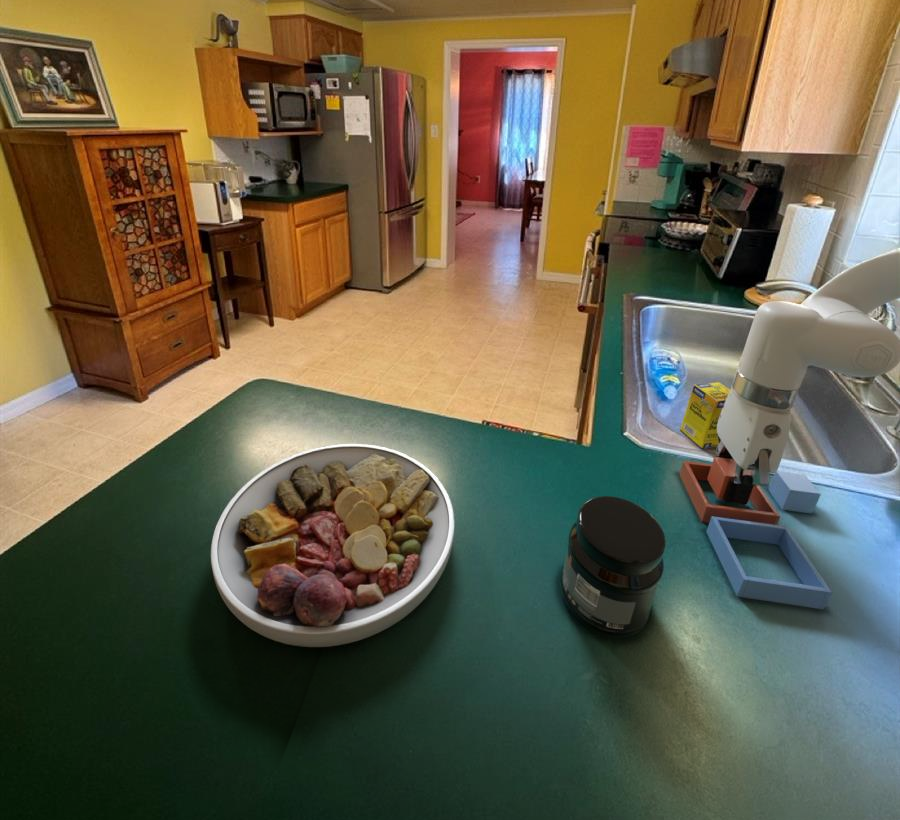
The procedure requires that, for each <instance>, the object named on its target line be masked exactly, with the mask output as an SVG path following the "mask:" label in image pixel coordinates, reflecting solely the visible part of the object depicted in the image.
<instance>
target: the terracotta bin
mask: <svg viewBox="0 0 900 820" xmlns="http://www.w3.org/2000/svg"><path fill="white" fill-rule="evenodd" d="M711 465H712V463H711V464H710V463H703V462H695V461H688V460H683V462H682V465H681V469H680V472H679V477H680V480H681V481H682V484H683V486H684V488H685V490H686V492H687V494H688V497H689V498H690V500H691V503H692V505H693V507H694V509H695V511H696V513H697V515H698V517H699V519H700V521H701V522H702V523H708V524H709V523H710V520H711V517H712V516H714V517H721V518H728V519H736V520H743V521H750V522H758V523H765V524H772V525H778V524H779V520H780V518H781V515H780V514H779V512H778V511H777V510H776V508H775V507H774V505H773V504H772V502H771V501H770V499H769V498H768V496H767V495H766V493H765V492H764V490H763V488H762V487H761V486H758V485H757V486H756V487H755V486H754V488H753V490H752V493H751V496H750V498H749V501H750V502H751V504H752V505H753V507H754V509H747V508H740V507H735V506H734V507H733V506H725V505H717V504H711V503H709V500H708V499H707V497H706V495H705V493H704V491H703V488H702V487H701V485H700V483H699V482H698V480H699V481H706V482H708V480H707V477H708V474H709V471H710V468H711Z"/></svg>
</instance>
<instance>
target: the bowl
mask: <svg viewBox="0 0 900 820" xmlns="http://www.w3.org/2000/svg"><path fill="white" fill-rule="evenodd" d="M454 536H455V514H454V508H453V503H452V501H451V498H450V496H449V493H448V491H447V489H446V488H445V486H444V485H443V483H442V482H441V481H440V479H439V478H438V477H437V476H436V475H435V474H434V472H433V471H432V470H431V469H429V468H428V467H427V466H425V465H424V464H423V463H422V462H420V461H418V460H417V459H415V458H414V457H412V456H409V455H408V454H405V453H403V452H400V451H398V450H395V449H392V448H388V447H384V446H380V445H373V444H366V443H365V444H364V443H340V444H331V445H330V444H329V445H326V446H325V445H324V446H318V447H314V448H310V449H308V450H304V451H301V452H298V453H295V454H292V455H290V456H288V457H286V458H283V459H282V460H279V461H277V462H275V463H274V464H271V465H270V466H268V467H267V468H265V469H263V470H262V471H261V472H259V473H258V474H256V475H255V476H254V477H252V478H251V479H250V480H249V481H248V482H246V483H245V484H244V485H242V487H241V488H240V489H239V490H238V491H237V492H236V493H235V494H234V495H233V497H232V498H231V499H230V501H229V502H228V503H227V505H226V506H225V508H224V510H223V511H222V513H221V515H220V517H219V519H218V521H217V523H216V526H215V528H214V531H213V535H212V540H211V546H210V564H211V569H212V570H211V571H212V575H213V579H214V583H215V586H216V588H217V591H218V593H219V595H220V598H221V600H222V601H223V602H224V604H225V605H226V607H227V608H228V609H229V611H230V612H231V613H232V614H233V616H235V617H236V618H237V619H238V620H239V621H240V622H241V623H242V624H243V625H244V626H246V627H247V628H249V629H250V630H252V631H254V632H255V633H257V634H259V635H261V636H263V637H264V638H267V639H270V640H272V641H274V642H278V643H282V644H284V645H291V646H295V647H296V646H297V647H303V648H305V647H306V648H327V647H328V648H329V647H335V646H341V645H347V644H351V643H354V642H358V641H361V640H364V639H368V638H369V637H372V636H374V635H376V634H379V633H381V632H383V631H384V630H387V629H389V628H390V627H392V626H394V625H395V624H397V623H398V622H400V621H401V620H403V619H404V618H405V617H407V616H408V615H409V614H411V613H412V612H413V611H414V610H415V609H416V608H417V607H419V605H420V604H421V603H423V601H424V600H425V599H426V598H427V597H428V595H430V593H431V592H432V590H433V589H434V588H435V586H436V585H437V583H438V582H439V580H440V578H441V577H442V575H443V573H444V571H445V569H446V566H447V564H448V562H449V558H450V556H451V552H452V549H453V543H454V538H455V537H454Z"/></svg>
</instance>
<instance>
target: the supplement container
mask: <svg viewBox="0 0 900 820" xmlns="http://www.w3.org/2000/svg"><path fill="white" fill-rule="evenodd" d="M666 545H667V543H666V536H665V531H664V530H663V528H662V526H661V525H660V523H659V522H658V521H657V519H656V517H654V516H653V515H652V514H651V513H649V512H648V511H647V510H646V509H644V508H643V507H642V506H640V505H638V504H636V503H634V502H632V501H630V500H627V499H624V498H621V497H617V496H609V495H603V496H602V495H601V496H596V497H593V498H590V499H588V500H587V501H585V502H584V503H583V504H582V505H581V506H580V508H579V511H578V514H577V519H576V521H575V522H574V523H573V525H572V527H571V528H570V530H569V535H568V544H567V549H566V555H565V559H564V565H563V569H562V571H561V576H560V592H561V595H562V598H563V601H564V604H565V605H566V607H567V609H568V610H569V612H570V613H571V614H572V616H573V617H574V618H575V619H576V620H577V621H578V622H579V623H580V624H582V625H583V626H584V627H586V628H587V629H588V630H590V631H592V632H594V633H596V634H598V635H601V636H604V637H608V638H613V639H623V638H628V637H631V636H634V635H636V634H637V633H638V632H640V631H641V630H642V629H643V628H644V627H645V625H646V624H647V622H648V620H649V618H650V613H651V609H652V608H651V607H652V604H653V601H654V598H655V595H656V591H657V589H658V586H659V583H660V582H661V580H662V577H663V574H664V569H665V562H664V553H665V550H666Z"/></svg>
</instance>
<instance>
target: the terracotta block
mask: <svg viewBox="0 0 900 820" xmlns="http://www.w3.org/2000/svg"><path fill="white" fill-rule="evenodd" d="M711 464H712V465H711V468H710V471H709V474H708V477H707V480H708V481H707V482H708V484H709V485H710V487H711V489H712V491H713V493H714V494H715V496H716V498H717V499H718V500H724V499H723V497H724V494H725V492H726V489H727V486H728V483H729V480H730V478H731V479H734V474H735V469H736V464H737V463H736V462H735V460H734V459H728V458H720V457H716V456H713V460H712V462H711ZM743 475H751V470H748V469H746V470H744V472H743ZM753 488H754V486H753ZM752 490H753V489H752ZM751 493H752V492H751ZM750 496H751V494H750ZM749 498H750V497H749ZM749 501H750V499H748V502H749Z"/></svg>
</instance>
